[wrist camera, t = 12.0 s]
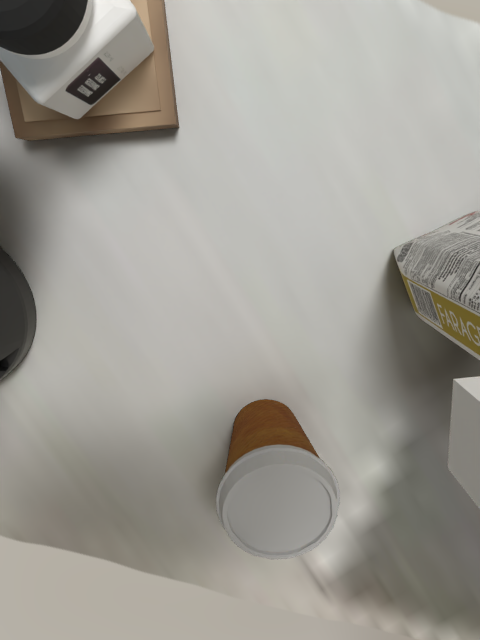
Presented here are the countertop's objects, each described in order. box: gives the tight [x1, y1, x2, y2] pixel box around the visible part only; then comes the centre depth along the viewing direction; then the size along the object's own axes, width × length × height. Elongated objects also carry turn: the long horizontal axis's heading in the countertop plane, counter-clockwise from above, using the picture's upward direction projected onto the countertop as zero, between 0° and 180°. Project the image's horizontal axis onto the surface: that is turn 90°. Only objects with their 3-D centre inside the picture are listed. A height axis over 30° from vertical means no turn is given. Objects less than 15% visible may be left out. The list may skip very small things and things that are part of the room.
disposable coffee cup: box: [216, 399, 340, 559], centre depth 39 cm, size 10×10×12 cm
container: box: [0, 0, 154, 119], centre depth 25 cm, size 8×8×13 cm
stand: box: [0, 0, 179, 141], centre depth 33 cm, size 12×12×3 cm
